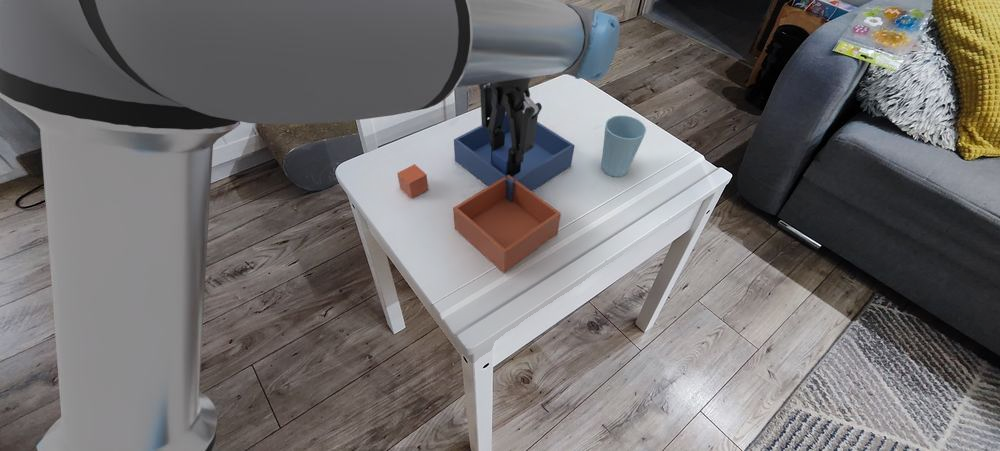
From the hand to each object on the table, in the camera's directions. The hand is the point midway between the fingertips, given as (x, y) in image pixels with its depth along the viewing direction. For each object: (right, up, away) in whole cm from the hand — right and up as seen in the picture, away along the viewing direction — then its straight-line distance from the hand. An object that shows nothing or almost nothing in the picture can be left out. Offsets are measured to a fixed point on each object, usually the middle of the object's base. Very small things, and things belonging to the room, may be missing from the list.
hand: (505, 167), depth 89 cm
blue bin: (+2, +2, +6) cm, 7 cm away
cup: (+23, 0, +6) cm, 24 cm away
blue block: (0, 0, 0) cm, 0 cm away
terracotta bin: (0, -12, -6) cm, 14 cm away
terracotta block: (-18, -4, +1) cm, 18 cm away
